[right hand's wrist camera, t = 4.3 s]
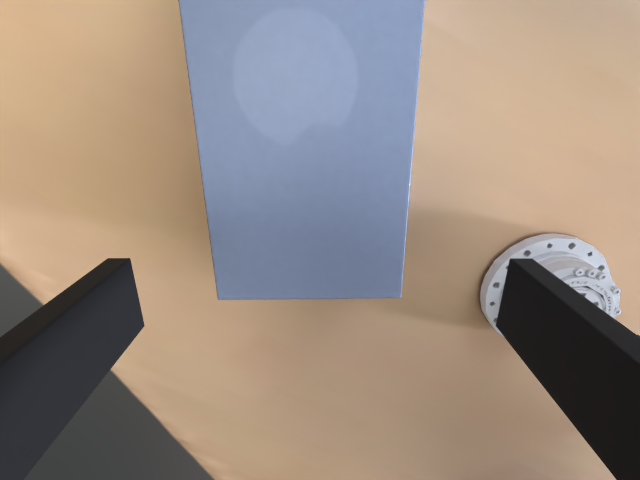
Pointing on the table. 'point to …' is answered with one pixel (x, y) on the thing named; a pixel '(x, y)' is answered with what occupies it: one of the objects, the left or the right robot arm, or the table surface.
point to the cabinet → (305, 142)
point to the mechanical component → (555, 272)
